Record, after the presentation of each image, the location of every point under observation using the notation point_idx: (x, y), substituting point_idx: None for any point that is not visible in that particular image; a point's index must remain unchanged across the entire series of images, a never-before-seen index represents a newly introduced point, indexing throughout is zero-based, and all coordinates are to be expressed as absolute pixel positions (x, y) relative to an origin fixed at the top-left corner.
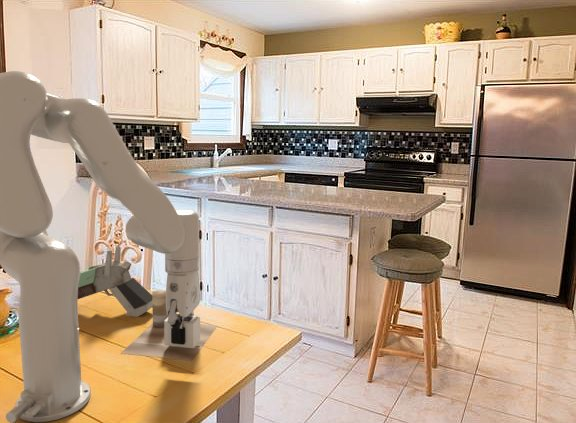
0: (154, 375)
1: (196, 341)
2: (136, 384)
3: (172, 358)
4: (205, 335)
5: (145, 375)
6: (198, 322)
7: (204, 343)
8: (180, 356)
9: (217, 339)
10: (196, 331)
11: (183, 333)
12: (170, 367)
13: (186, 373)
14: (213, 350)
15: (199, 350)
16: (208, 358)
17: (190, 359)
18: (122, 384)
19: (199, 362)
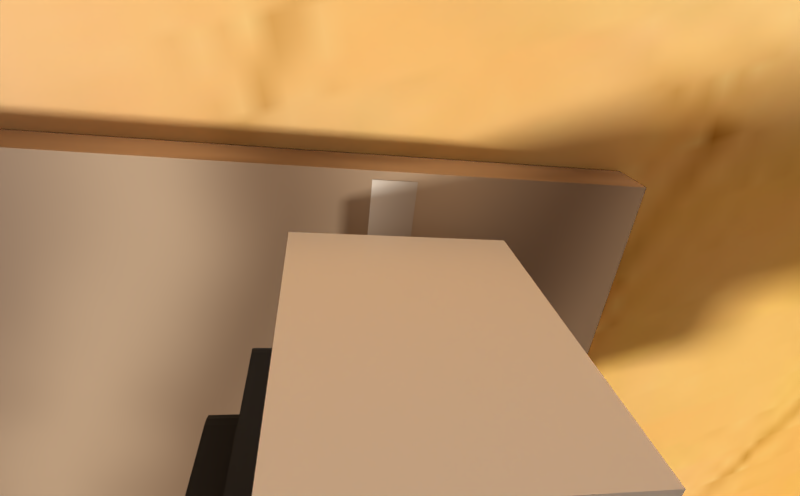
0: (703, 362)
1: (416, 252)
2: (776, 406)
3: (588, 343)
4: (64, 208)
5: (692, 403)
6: (364, 416)
7: (275, 165)
8: (560, 301)
9: (8, 48)
10: (443, 330)
11: None
12: (619, 312)
13: (723, 179)
14: (308, 36)
15: (443, 175)
16: (488, 52)
17: (616, 207)
18: (756, 457)
19: (562, 123)
